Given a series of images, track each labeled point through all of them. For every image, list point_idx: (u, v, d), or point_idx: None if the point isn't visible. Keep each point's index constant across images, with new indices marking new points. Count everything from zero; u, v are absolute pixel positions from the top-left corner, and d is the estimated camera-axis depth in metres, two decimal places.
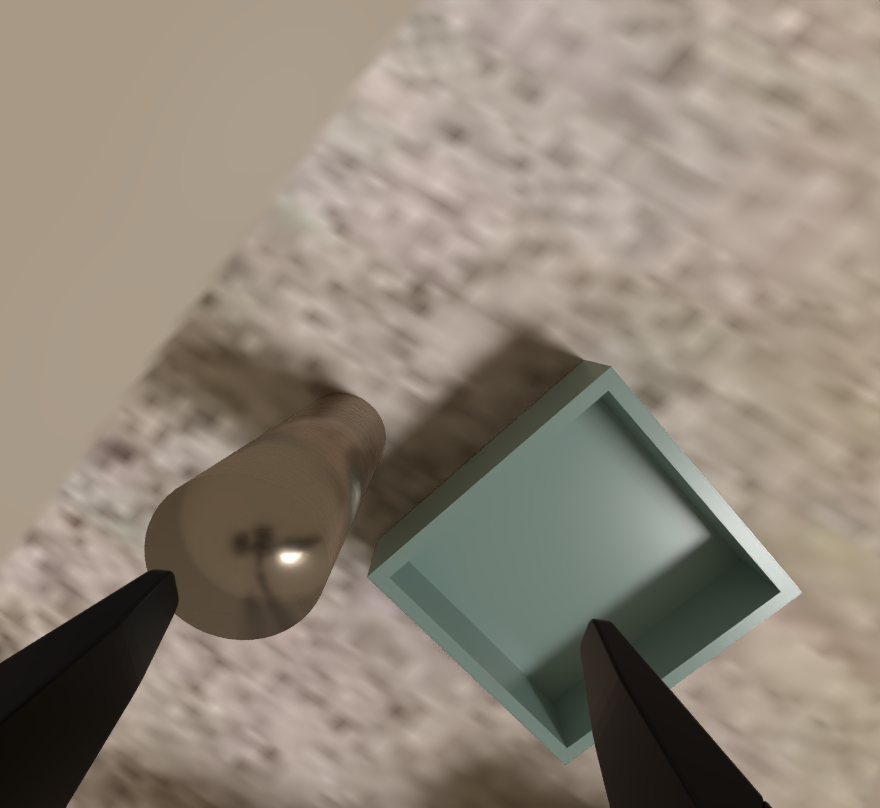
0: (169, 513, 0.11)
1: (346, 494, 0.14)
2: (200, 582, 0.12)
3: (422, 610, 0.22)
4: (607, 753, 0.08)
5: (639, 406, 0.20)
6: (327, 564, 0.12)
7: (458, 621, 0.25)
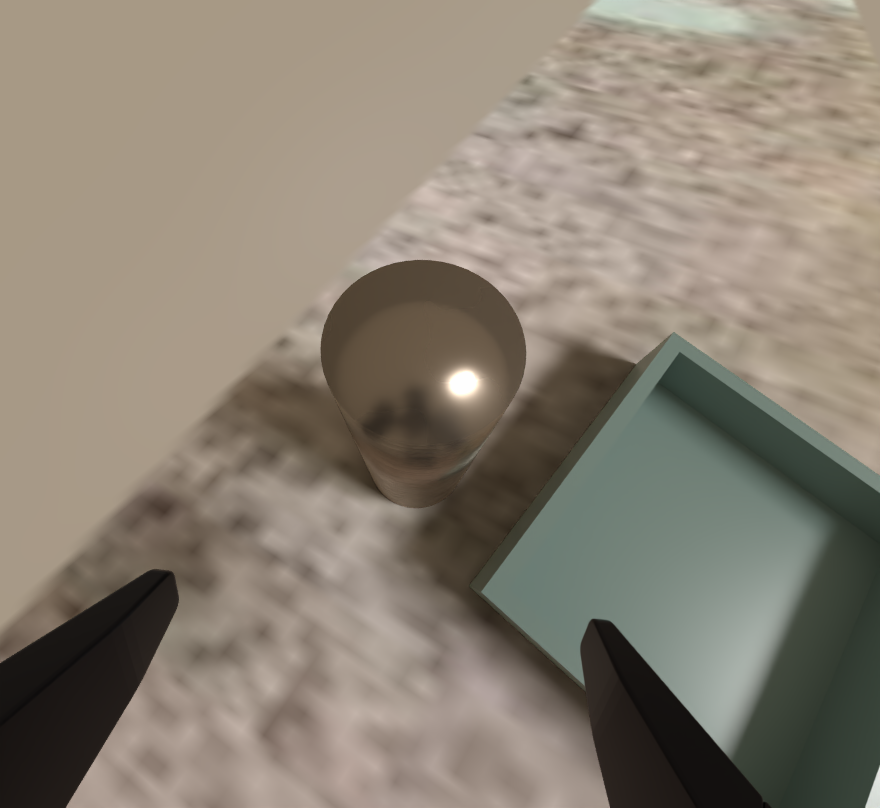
0: (352, 301, 0.11)
1: None
2: (384, 374, 0.10)
3: (559, 636, 0.17)
4: (607, 753, 0.08)
5: (712, 363, 0.21)
6: (524, 342, 0.11)
7: None
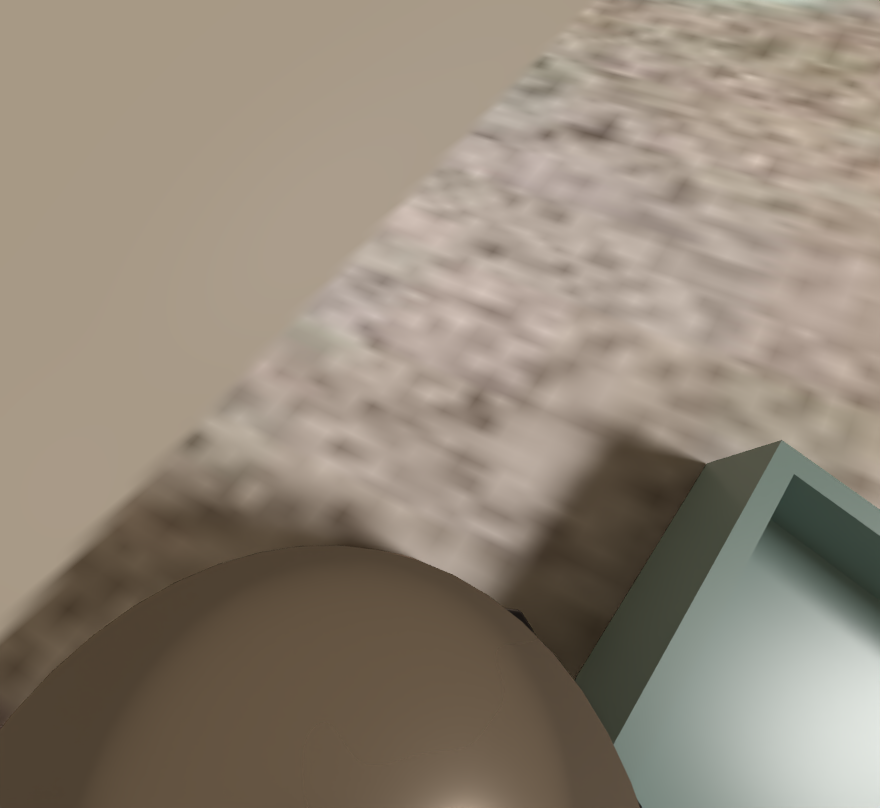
0: (42, 749, 0.03)
1: None
2: None
3: None
4: None
5: (846, 492, 0.14)
6: None
7: None
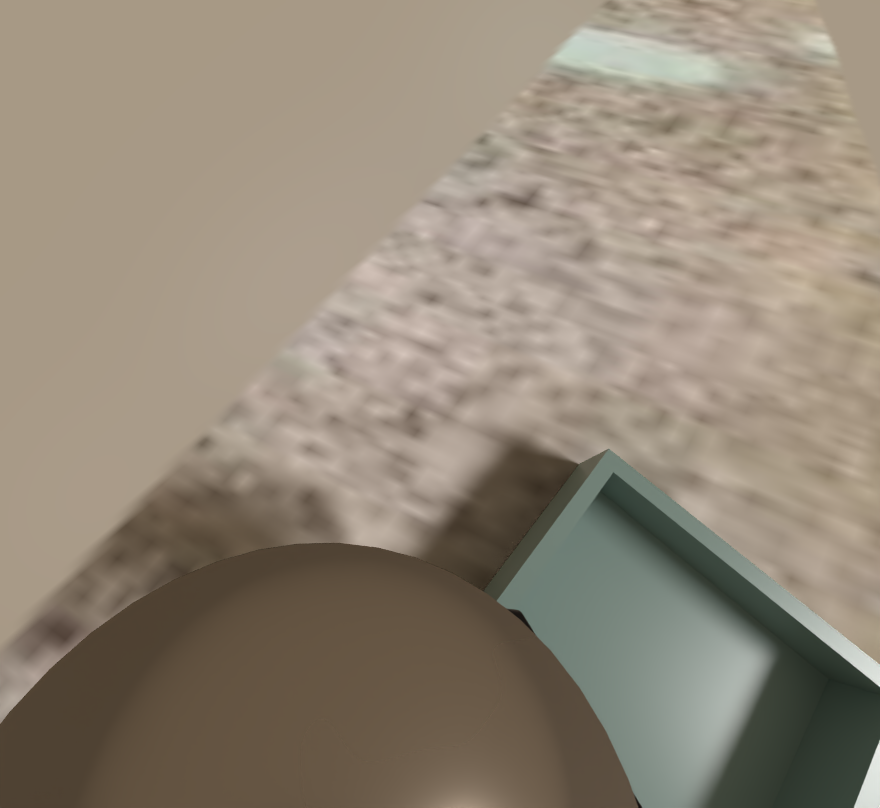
0: (41, 746, 0.03)
1: None
2: None
3: None
4: None
5: (648, 485, 0.20)
6: None
7: None
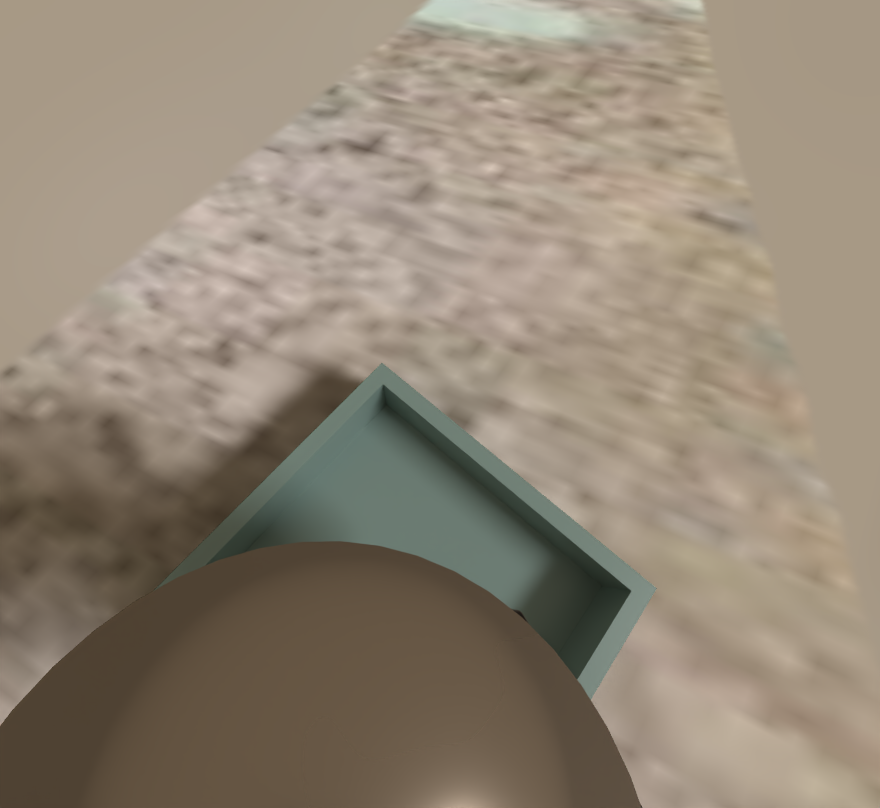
0: (44, 744, 0.03)
1: None
2: None
3: None
4: None
5: (416, 396, 0.21)
6: None
7: None
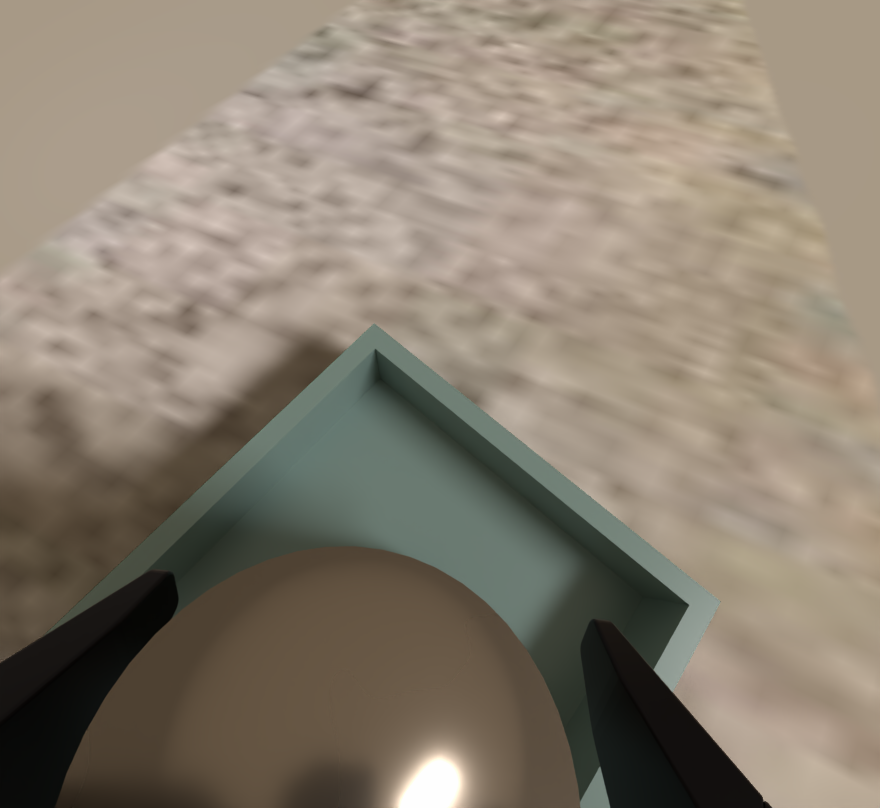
0: (152, 686, 0.04)
1: None
2: None
3: None
4: (607, 753, 0.08)
5: (416, 363, 0.17)
6: (577, 792, 0.04)
7: None
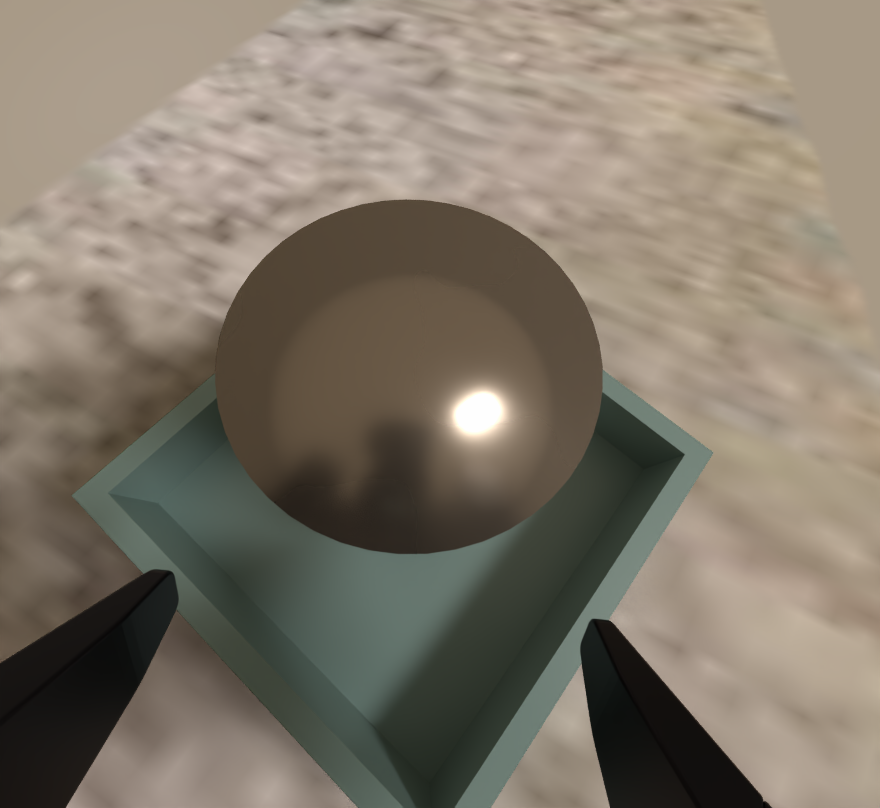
0: (282, 271, 0.06)
1: None
2: (335, 408, 0.05)
3: (156, 547, 0.14)
4: (607, 753, 0.08)
5: None
6: (598, 348, 0.06)
7: (239, 602, 0.15)
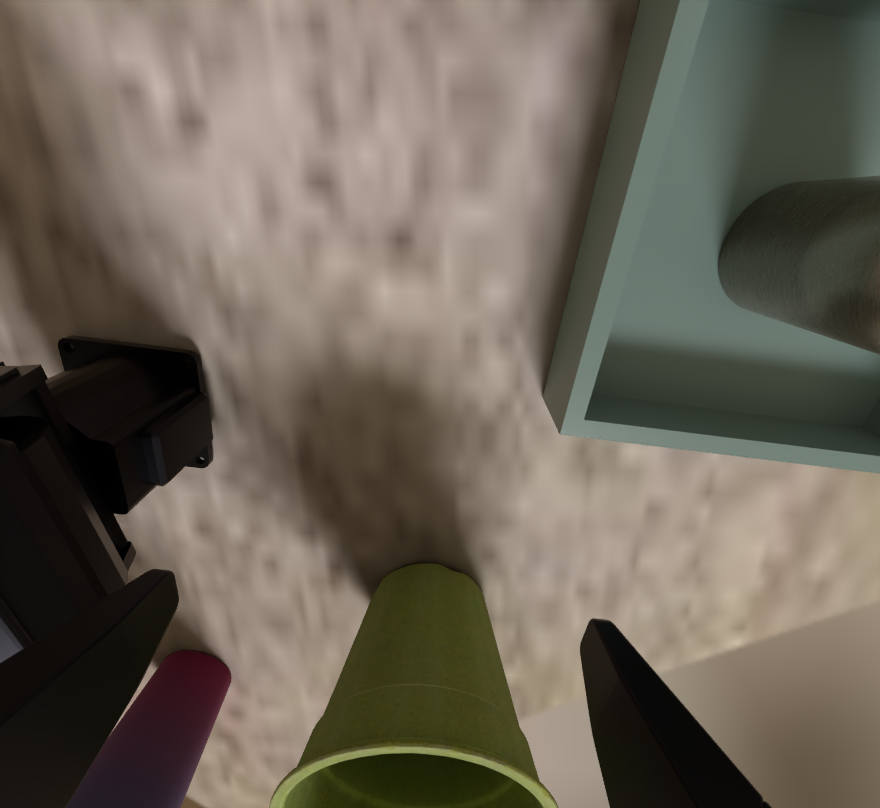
0: None
1: None
2: None
3: (689, 60, 0.12)
4: (607, 753, 0.08)
5: None
6: None
7: None
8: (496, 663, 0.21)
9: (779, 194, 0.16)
